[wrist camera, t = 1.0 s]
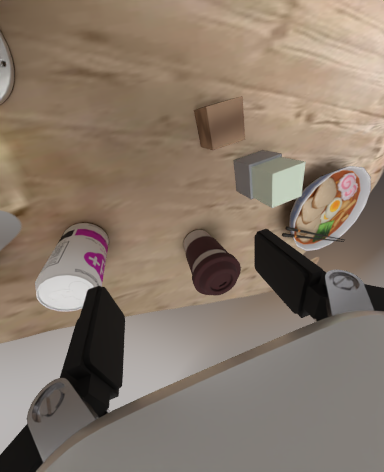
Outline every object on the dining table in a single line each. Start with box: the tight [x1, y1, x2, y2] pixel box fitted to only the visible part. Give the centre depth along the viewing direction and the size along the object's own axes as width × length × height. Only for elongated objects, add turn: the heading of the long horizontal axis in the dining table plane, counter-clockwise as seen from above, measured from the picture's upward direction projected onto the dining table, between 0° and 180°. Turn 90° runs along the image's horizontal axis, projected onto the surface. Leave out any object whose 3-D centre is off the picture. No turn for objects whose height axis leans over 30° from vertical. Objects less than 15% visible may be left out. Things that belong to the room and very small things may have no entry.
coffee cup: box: [184, 230, 241, 295], centre depth 40 cm, size 10×10×15 cm
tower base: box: [234, 150, 282, 199], centre depth 38 cm, size 7×7×6 cm
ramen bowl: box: [282, 166, 371, 251], centre depth 48 cm, size 25×23×8 cm
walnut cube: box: [194, 96, 245, 150], centre depth 31 cm, size 6×6×6 cm
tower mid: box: [251, 157, 305, 208], centre depth 33 cm, size 6×6×6 cm
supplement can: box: [35, 223, 109, 312], centre depth 31 cm, size 8×8×15 cm
